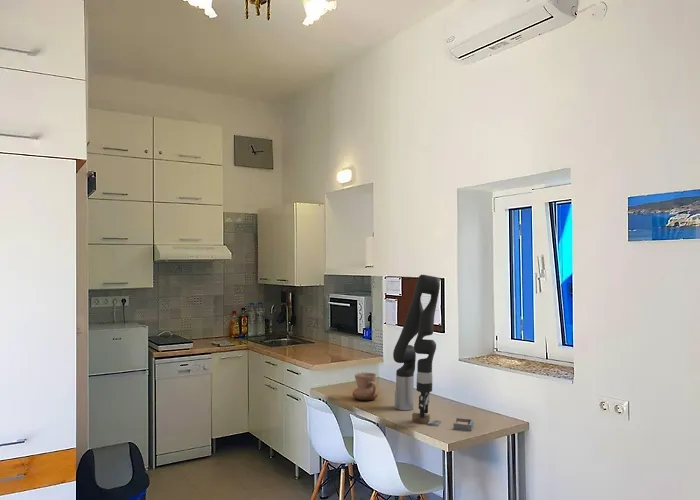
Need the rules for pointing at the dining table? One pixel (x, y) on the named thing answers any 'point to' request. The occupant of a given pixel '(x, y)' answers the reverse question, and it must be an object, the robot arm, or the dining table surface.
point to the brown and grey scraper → (424, 419)
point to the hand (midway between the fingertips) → (423, 415)
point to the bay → (464, 426)
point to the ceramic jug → (365, 386)
